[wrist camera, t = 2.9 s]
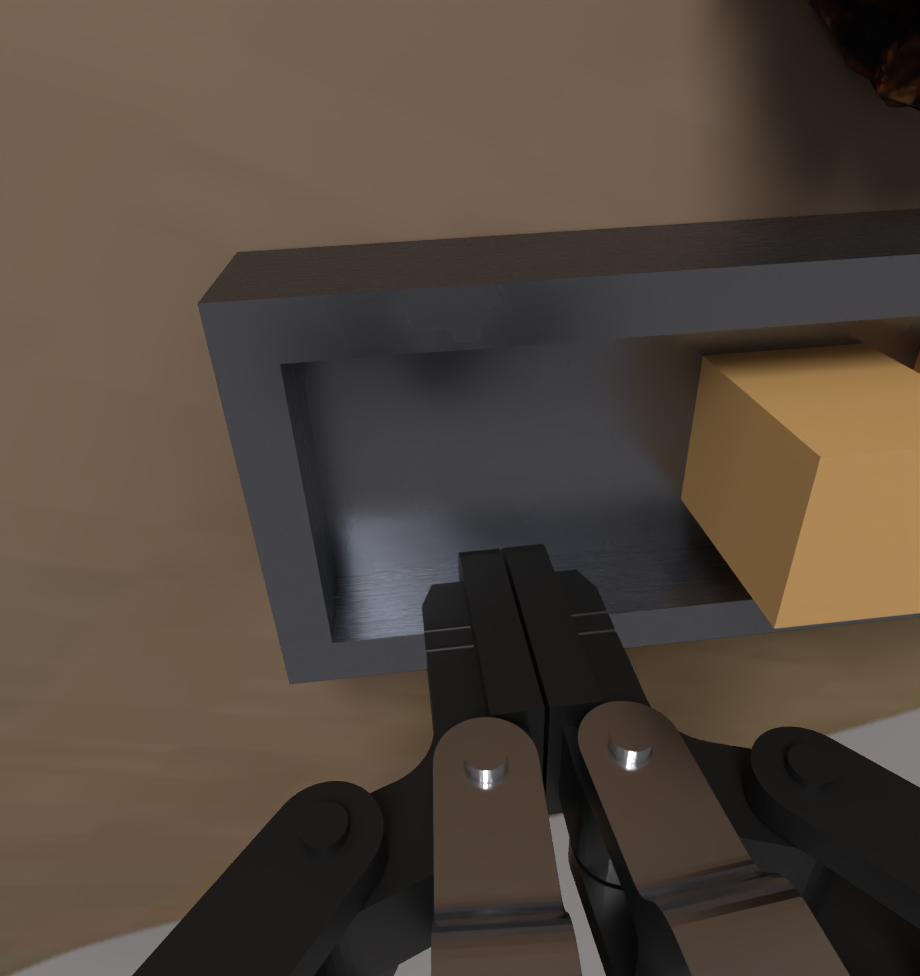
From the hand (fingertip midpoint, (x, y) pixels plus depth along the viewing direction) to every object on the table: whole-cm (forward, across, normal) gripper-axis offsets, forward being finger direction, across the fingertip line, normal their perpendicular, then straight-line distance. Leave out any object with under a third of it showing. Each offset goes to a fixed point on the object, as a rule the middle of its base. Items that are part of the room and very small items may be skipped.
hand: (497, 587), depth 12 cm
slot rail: (+7, -7, 0) cm, 10 cm away
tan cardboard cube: (+5, -8, 0) cm, 9 cm away
